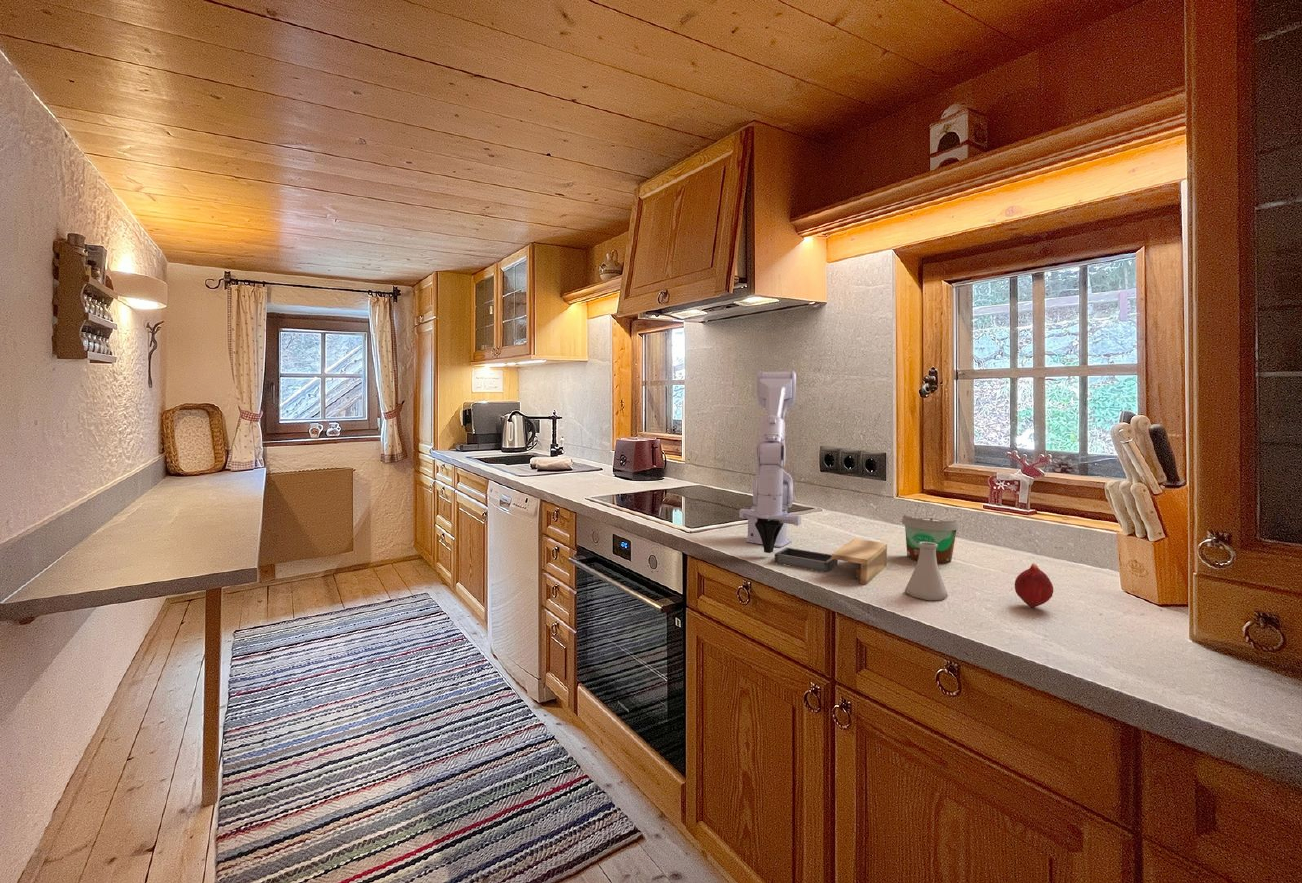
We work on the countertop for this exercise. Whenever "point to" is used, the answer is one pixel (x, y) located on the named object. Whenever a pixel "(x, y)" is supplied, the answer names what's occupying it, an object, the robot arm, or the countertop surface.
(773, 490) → the robot arm
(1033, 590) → the onion
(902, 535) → the countertop surface
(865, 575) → the pine shelf
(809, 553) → the dark grey drawer
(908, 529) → the food container
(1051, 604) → the countertop surface
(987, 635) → the countertop surface
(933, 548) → the flask
